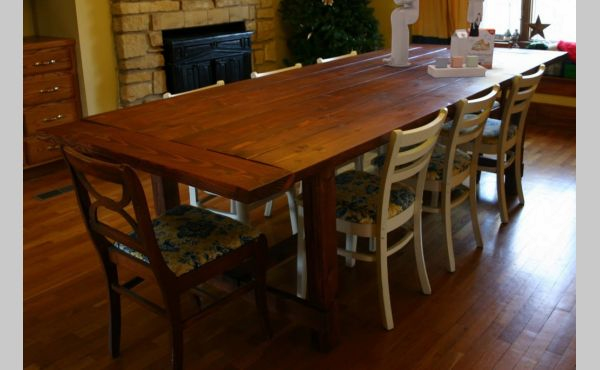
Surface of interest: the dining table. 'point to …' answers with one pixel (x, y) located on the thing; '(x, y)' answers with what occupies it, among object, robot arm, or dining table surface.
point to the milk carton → (459, 44)
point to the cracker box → (481, 47)
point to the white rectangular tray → (456, 71)
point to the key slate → (441, 62)
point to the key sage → (472, 61)
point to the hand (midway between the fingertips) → (473, 36)
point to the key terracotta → (456, 61)
